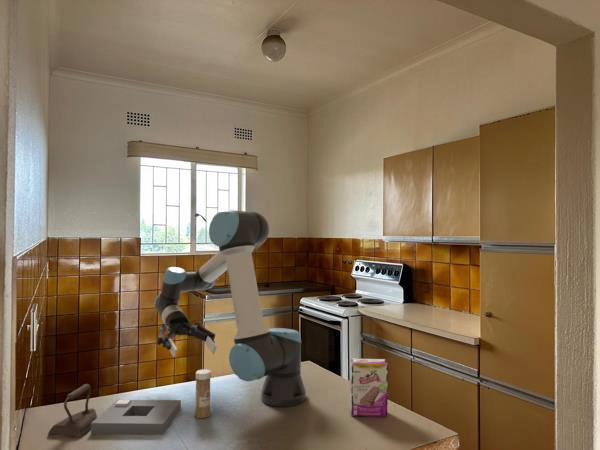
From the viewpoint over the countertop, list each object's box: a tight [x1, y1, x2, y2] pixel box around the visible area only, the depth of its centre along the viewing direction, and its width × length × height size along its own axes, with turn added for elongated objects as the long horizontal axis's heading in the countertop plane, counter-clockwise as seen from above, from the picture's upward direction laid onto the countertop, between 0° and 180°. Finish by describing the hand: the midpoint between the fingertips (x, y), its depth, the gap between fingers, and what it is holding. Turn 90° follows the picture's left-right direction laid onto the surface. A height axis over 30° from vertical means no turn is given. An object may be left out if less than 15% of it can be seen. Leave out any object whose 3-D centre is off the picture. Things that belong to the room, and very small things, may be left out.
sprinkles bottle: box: [194, 368, 212, 419], centre depth 123 cm, size 5×5×14 cm
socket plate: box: [90, 399, 182, 436], centre depth 119 cm, size 20×16×4 cm
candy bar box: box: [349, 357, 389, 418], centre depth 125 cm, size 11×5×16 cm, turn 89°
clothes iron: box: [47, 383, 98, 439], centre depth 116 cm, size 14×10×11 cm
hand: (195, 351), depth 131 cm, fingers open, 13 cm apart
